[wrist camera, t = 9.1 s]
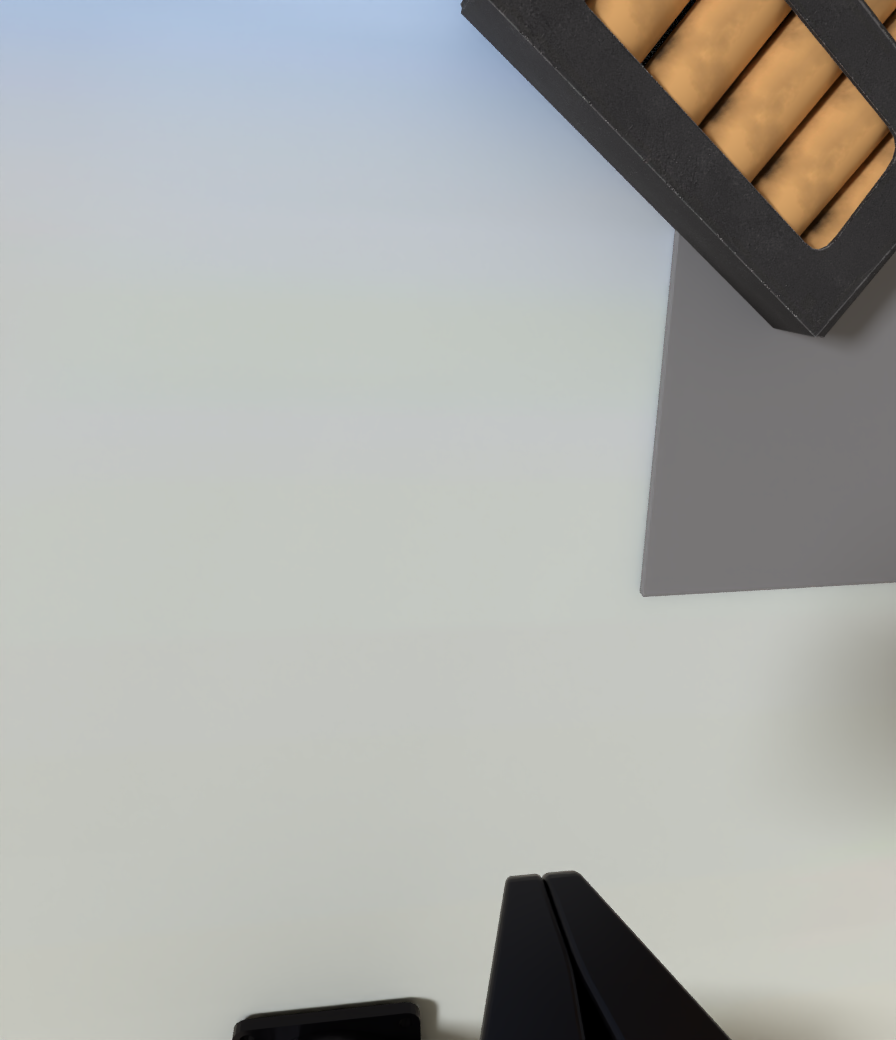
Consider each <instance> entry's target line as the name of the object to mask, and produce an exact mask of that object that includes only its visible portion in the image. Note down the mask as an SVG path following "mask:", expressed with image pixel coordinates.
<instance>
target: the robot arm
mask: <svg viewBox="0 0 896 1040" xmlns="http://www.w3.org/2000/svg"><path fill="white" fill-rule="evenodd" d="M232 1040H421V1033H420V1013H419V1008H418V1006H416V1005H415V1004H413V1003H407V1002H404V1003H395V1004H386V1005H376V1006H367V1007H358V1008H348V1009H339V1010H330V1011H320V1012H311V1013H302V1014H292V1015H283V1016H274V1017H264V1018H255V1019H246V1020H242V1021H240V1022H238V1023H237V1024H236V1025H235V1027H234V1032H233V1039H232ZM480 1040H731V1039H730V1038H729V1037H728V1036H727V1034H726V1033H725V1032H724V1031H723V1030H722V1029H721V1028H720V1027H719V1026H718V1025H717V1023H716V1022H715V1021H714V1020H713V1019H712V1018H711V1017H710V1016H709V1015H708V1014H707V1012H706V1011H705V1010H704V1009H703V1008H702V1007H701V1006H700V1005H699V1004H698V1003H697V1002H696V1000H695V999H694V998H693V997H692V996H691V995H690V994H689V993H688V992H687V991H686V989H685V988H684V987H683V986H682V985H681V984H680V983H679V982H678V981H677V980H676V978H675V977H674V976H673V975H672V974H671V973H670V972H669V971H668V970H667V969H666V967H665V966H664V965H663V964H662V963H661V962H660V961H659V960H658V959H657V958H656V957H655V955H654V954H653V953H652V952H651V951H650V950H649V949H648V948H647V947H646V946H645V944H644V943H643V942H642V941H641V940H640V939H639V938H638V937H637V936H636V935H635V933H634V932H633V931H632V930H631V929H630V928H629V927H628V926H627V925H626V924H625V923H624V921H623V920H622V919H621V918H620V917H619V916H618V915H617V914H616V913H615V912H614V910H613V909H612V908H611V907H610V906H609V905H608V904H607V903H606V902H605V901H604V899H603V898H602V897H601V896H600V895H599V894H598V893H597V892H596V891H595V890H594V888H593V887H592V886H591V885H590V884H589V883H588V882H587V881H586V880H585V879H584V878H583V876H582V875H581V874H579V873H578V872H576V871H561V872H550V873H546V874H544V875H543V877H542V878H541V877H540V876H539V875H538V874H529V875H518V876H510V877H508V878H507V880H506V882H505V887H504V894H503V900H502V906H501V912H500V918H499V924H498V931H497V937H496V943H495V949H494V955H493V961H492V968H491V974H490V980H489V986H488V992H487V998H486V1005H485V1011H484V1017H483V1023H482V1029H481V1035H480Z"/></svg>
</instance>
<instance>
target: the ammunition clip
mask: <svg viewBox="0 0 896 1040" xmlns="http://www.w3.org/2000/svg"><path fill="white" fill-rule="evenodd" d="M689 1H690V0H463V1H462V3H461V7H462V10H461V14H462V15H463V16H464V17H465V18H466V19H467V20H468V21H469V22H470V23H471V24H472V25H473V26H474V27H475V28H476V29H477V30H478V31H479V32H480V33H481V34H482V35H483V36H484V37H485V38H486V39H487V40H488V41H489V42H490V43H491V44H492V45H493V46H494V47H495V48H496V49H497V50H498V51H499V52H500V53H501V54H502V55H503V56H504V57H505V58H506V59H507V60H508V61H509V62H510V63H511V64H512V65H513V66H514V67H515V68H516V69H517V70H518V71H519V72H520V73H521V74H522V75H523V76H524V77H525V78H526V79H527V80H528V81H529V82H530V83H531V84H532V85H533V86H534V87H535V88H536V89H537V90H538V91H539V92H540V93H541V94H542V95H543V96H544V97H545V98H546V99H547V100H548V101H549V102H550V103H551V104H552V106H553V107H554V108H555V109H556V110H557V111H558V112H559V113H560V114H561V115H562V116H563V117H564V118H565V119H566V120H567V121H568V122H569V123H570V124H571V125H572V126H573V127H574V128H575V129H576V130H577V131H578V132H579V133H580V134H581V135H582V136H583V137H584V138H585V139H586V140H587V141H588V142H589V143H590V144H591V145H592V146H593V147H594V148H595V149H596V150H597V151H598V152H599V153H600V154H601V155H602V156H603V157H604V158H605V159H606V160H607V161H608V162H609V163H610V164H611V165H612V166H613V167H614V168H615V169H616V170H617V171H618V172H619V173H620V174H621V175H622V176H623V177H624V178H625V179H626V180H627V181H628V182H629V183H630V184H631V185H632V186H633V187H634V188H635V189H636V190H637V191H638V192H639V193H640V194H641V195H642V196H643V197H644V198H645V199H646V200H647V201H648V202H649V203H650V204H651V205H652V206H653V207H654V208H655V209H656V210H657V211H658V212H659V214H660V215H661V216H662V217H663V218H664V219H665V220H666V221H667V222H668V223H669V224H670V225H671V226H672V227H673V228H674V229H675V230H676V231H677V232H678V233H679V234H680V235H681V236H682V237H683V238H684V239H685V240H686V241H687V242H688V243H689V244H690V245H691V246H692V247H693V248H694V249H695V250H696V251H697V252H698V253H699V254H700V255H701V256H702V257H703V258H704V259H705V260H706V261H707V262H708V263H709V264H710V265H711V266H712V267H713V268H714V269H715V270H716V271H717V272H718V273H719V274H720V275H721V276H722V277H723V278H724V279H725V280H726V281H727V282H728V283H729V284H730V285H731V286H732V287H733V288H734V289H735V290H736V291H737V292H738V293H739V294H740V295H741V296H742V297H743V298H744V299H745V300H746V301H747V302H748V303H749V304H750V305H751V306H752V307H753V308H754V309H755V310H756V311H757V312H758V313H759V314H760V315H761V316H762V317H763V318H764V319H765V320H766V322H767V323H768V324H769V325H770V326H771V327H772V328H774V329H779V330H783V331H788V332H793V333H797V334H802V335H807V336H811V337H821V338H824V337H825V336H826V334H827V333H828V332H829V331H830V330H831V328H832V327H833V326H834V325H835V324H836V322H837V321H838V320H839V319H840V318H841V316H842V315H843V314H844V313H845V312H846V310H847V309H848V308H849V307H850V306H851V304H852V303H853V302H854V301H855V300H856V298H857V297H858V296H859V295H860V294H861V292H862V291H863V290H864V289H865V288H866V286H867V285H868V284H869V283H870V282H871V280H872V279H873V278H874V277H875V276H876V274H877V273H878V272H879V271H880V270H881V268H882V267H883V266H884V265H885V264H886V262H887V261H888V260H889V259H890V258H891V256H892V255H893V254H894V253H895V252H896V0H697V1H696V2H695V3H694V4H693V6H692V7H691V8H690V9H689V11H688V12H687V13H686V14H685V16H684V17H683V18H682V19H681V21H680V22H679V23H678V25H677V26H676V27H675V28H674V30H673V31H672V32H671V33H670V35H669V36H668V37H667V38H666V40H665V41H664V42H663V43H662V45H661V46H660V47H659V48H658V50H657V51H656V52H655V54H654V55H653V56H652V57H651V59H650V60H649V61H648V62H647V64H646V65H645V66H644V67H643V66H642V65H641V63H642V61H643V60H644V59H645V58H646V56H647V55H648V54H649V52H650V51H651V50H652V49H653V47H654V46H655V45H656V43H657V42H658V41H659V40H660V38H661V37H662V36H663V34H664V33H665V32H666V31H667V29H668V28H669V27H670V25H671V24H672V23H673V22H674V20H675V19H676V18H677V16H678V15H679V14H680V12H681V11H682V10H683V9H684V7H685V6H686V5H687V3H688V2H689ZM762 46H763V48H762V49H761V50H760V48H761V47H762ZM759 50H760V51H759ZM758 51H759V52H758ZM757 52H758V54H757V55H756V53H757ZM755 55H756V56H755ZM754 56H755V57H754ZM753 57H754V58H753ZM752 58H753V60H752ZM751 60H752V61H751ZM750 61H751V62H750ZM749 62H750V63H749ZM748 63H749V65H748ZM747 65H748V66H747ZM746 66H747V67H746ZM745 67H746V68H745ZM744 68H745V69H744ZM743 70H744V71H743ZM742 71H743V72H742ZM741 72H742V73H741ZM740 73H741V74H740ZM739 74H740V76H739ZM738 76H739V77H738ZM737 77H738V78H737ZM736 78H737V79H736ZM735 79H736V80H735ZM734 81H735V82H734ZM733 82H734V83H733ZM732 83H733V84H732ZM731 84H732V85H731ZM729 87H730V88H729ZM728 88H729V89H728ZM727 89H728V90H727ZM725 92H726V93H725ZM724 93H725V94H724ZM723 94H724V95H723ZM720 98H721V99H720ZM719 99H720V100H719ZM716 103H717V104H716ZM715 104H716V105H715ZM711 109H712V110H711ZM706 115H707V116H706ZM702 120H703V121H702Z"/></svg>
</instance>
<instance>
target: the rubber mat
mask: <svg viewBox="0 0 896 1040" xmlns="http://www.w3.org/2000/svg"><path fill="white" fill-rule="evenodd" d="M762 48H763V46H762V47H761V48H760V50H761V49H762ZM760 50H759V51H760ZM759 51H758V52H759ZM758 52H757V53H756V55H757V54H758ZM756 55H755V56H756ZM755 56H754V57H755ZM754 57H753V58H754ZM753 58H752V60H753ZM752 60H751V61H752ZM751 61H750V62H751ZM750 62H749V63H750ZM749 63H748V65H749ZM748 65H747V66H748ZM747 66H746V67H747ZM746 67H745V68H746ZM745 68H744V69H745ZM743 71H744V70H743ZM743 71H742V72H743ZM742 72H741V73H742ZM741 73H740V74H741ZM740 74H739V76H740ZM739 76H738V77H739ZM738 77H737V78H738ZM737 78H736V79H737ZM736 79H735V80H736ZM734 82H735V81H734ZM734 82H733V83H734ZM733 83H732V84H733ZM732 84H731V85H732ZM729 88H730V87H729ZM729 88H728V89H729ZM728 89H727V90H728ZM725 93H726V92H725ZM725 93H724V94H725ZM724 94H723V95H724ZM720 99H721V98H720ZM720 99H719V100H720ZM716 104H717V103H716ZM716 104H715V105H716ZM711 110H712V109H711ZM706 116H707V115H706ZM702 121H703V120H702ZM893 582H896V252H895V253H894V254H893V255H892V256H891V258H890V259H889V260H888V261H887V262H886V264H885V265H884V266H883V267H882V268H881V270H880V271H879V272H878V273H877V274H876V276H875V277H874V278H873V279H872V280H871V282H870V283H869V284H868V285H867V286H866V288H865V289H864V290H863V291H862V292H861V294H860V295H859V296H858V297H857V298H856V300H855V301H854V302H853V303H852V304H851V306H850V307H849V308H848V309H847V310H846V312H845V313H844V314H843V315H842V316H841V318H840V319H839V320H838V321H837V322H836V324H835V325H834V326H833V327H832V328H831V330H830V331H829V332H828V333H827V334H826V336H825V337H824V338H821V337H811V336H807V335H802V334H797V333H793V332H788V331H783V330H779V329H774V328H772V327H771V326H770V325H769V324H768V323H767V322H766V320H765V319H764V318H763V317H762V316H761V315H760V314H759V313H758V312H757V311H756V310H755V309H754V308H753V307H752V306H751V305H750V304H749V303H748V302H747V301H746V300H745V299H744V298H743V297H742V296H741V295H740V294H739V293H738V292H737V291H736V290H735V289H734V288H733V287H732V286H731V285H730V284H729V283H728V282H727V281H726V280H725V279H724V278H723V277H722V276H721V275H720V274H719V273H718V272H717V271H716V270H715V269H714V268H713V267H712V266H711V265H710V264H709V263H708V262H707V261H706V260H705V259H704V258H703V257H702V256H701V255H700V254H699V253H698V252H697V251H696V250H695V249H694V248H693V247H692V246H691V245H690V244H689V243H688V242H687V241H686V240H685V239H684V238H683V237H682V236H681V235H680V234H679V233H678V232H677V231H676V230H675V235H674V245H673V255H672V266H671V276H670V286H669V296H668V307H667V317H666V327H665V338H664V348H663V358H662V369H661V379H660V389H659V400H658V410H657V420H656V430H655V441H654V451H653V461H652V472H651V482H650V492H649V503H648V513H647V523H646V534H645V544H644V554H643V564H642V575H641V585H640V593H641V594H642V596H643V597H649V596H666V595H684V594H701V593H719V592H736V591H753V590H771V589H788V588H806V587H823V586H841V585H858V584H876V583H893Z"/></svg>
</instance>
